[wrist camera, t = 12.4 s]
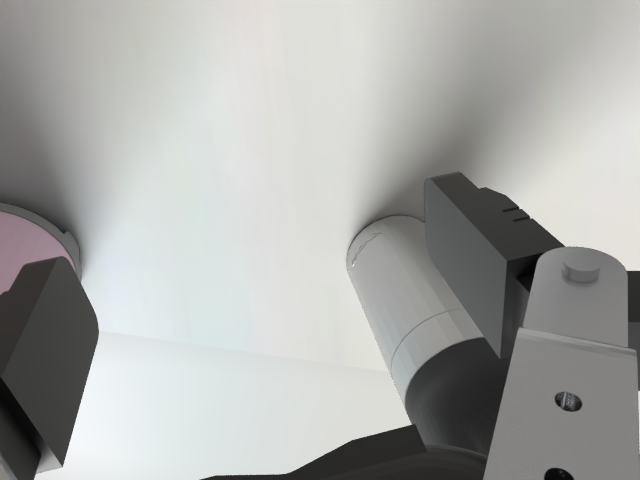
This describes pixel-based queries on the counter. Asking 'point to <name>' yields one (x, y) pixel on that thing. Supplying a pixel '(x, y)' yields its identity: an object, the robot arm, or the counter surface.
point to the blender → (30, 243)
